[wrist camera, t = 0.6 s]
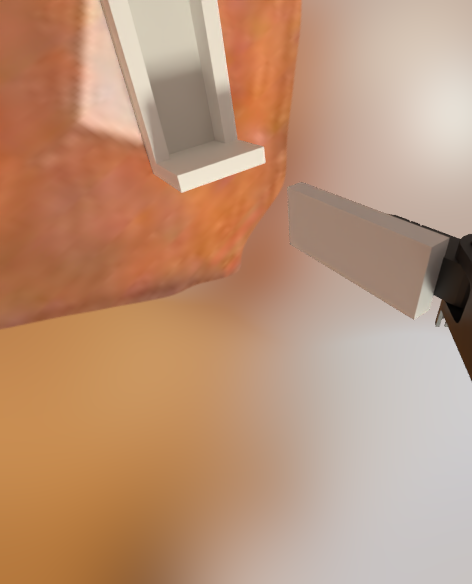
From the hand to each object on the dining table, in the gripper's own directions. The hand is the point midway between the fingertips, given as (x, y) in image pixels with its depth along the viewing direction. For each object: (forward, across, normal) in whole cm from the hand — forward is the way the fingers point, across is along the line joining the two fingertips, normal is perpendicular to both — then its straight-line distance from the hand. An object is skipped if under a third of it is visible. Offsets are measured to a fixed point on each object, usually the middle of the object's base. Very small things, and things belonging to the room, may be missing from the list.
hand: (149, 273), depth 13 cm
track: (+25, +12, +8) cm, 29 cm away
